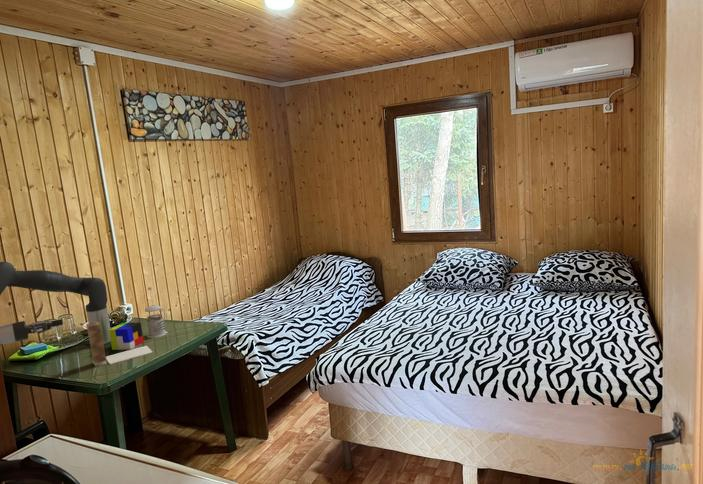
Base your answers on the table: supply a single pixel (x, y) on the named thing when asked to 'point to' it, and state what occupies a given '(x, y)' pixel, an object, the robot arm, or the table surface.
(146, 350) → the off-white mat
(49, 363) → the table surface
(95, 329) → the walnut block
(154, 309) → the french press
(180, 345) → the table surface
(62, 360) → the table surface
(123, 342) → the puzzle toy
